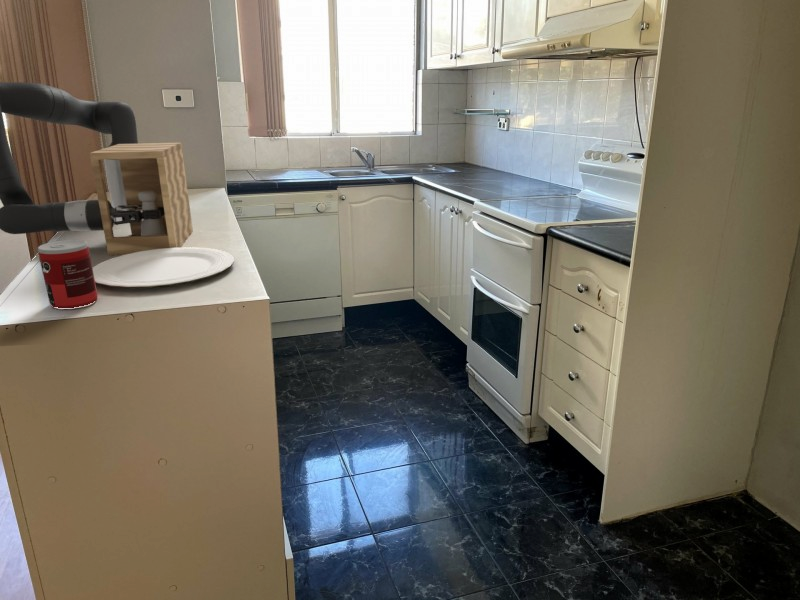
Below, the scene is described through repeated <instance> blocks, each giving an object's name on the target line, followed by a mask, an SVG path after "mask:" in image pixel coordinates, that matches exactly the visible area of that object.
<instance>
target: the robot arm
mask: <svg viewBox="0 0 800 600" xmlns="http://www.w3.org/2000/svg"><path fill="white" fill-rule="evenodd" d="M3 114H7V115H11V116H12V115H13V116H16V117H22V118H25V119H26V118H27V119H31V120H35V121H40V122H44V123H50V124H57V125H65V126H66V125H67V126H70V125H71V126H78V127H82V128H86V129H88V130H92V131H94V132H98V133H100V134H105V135H111V142H110V144H109V145H108V146H106V147H105V148H107V147H111V146H114V145H117V144H139V141H138V132H137V131H138V130H137V123H136V121H137V120H136V117H135V116H136V115H135V113H134V110H133V109H132V107H131V106H130V105H129V104H128V103H126V102H122V101H91V100H86V99H85V100H84V99H79V98H77V97H74V96H73V95H71V93H68V92H67V91H66V90H63V89H62V88H59V87H54V86H50V85H46V84H42V83H37V82H36V83H35V82H24V81H23V82H22V81H21V82H16V81H14V82H11V81H10V82H7V81H4V82H1V81H0V202H1V204H2V205H3V206H2V207H0V230H1V232H2V231H3V232H5V233H6V234H11V235H23V234H24V235H25V234H32V233H41V232H66V231H67V232H70V231H71V232H72V231H73V232H75V231H76V232H92V231H94V232H98V231H104V229H103V223H102V218H101V212H100V207H99V201H98V199H81V200H73V201H58V202H57V201H56V202H48V203H42V204H35V202H34V200H32V197H31V195H30V194H29V193H28V191H27V190H26V187H25V186H24V185H23V182H22V180H21V177H20V174H19V170H18V169H17V165H16V163H15V160H14V157H13V154H12V151H11V148H10V145H9V142H8V137H7V131H6V128H5V126H6V125H5V121H4V115H3ZM103 160H104V167H105V171H106V177H107V182H108V188H109V194H110V200H111V201H110V200H108V206H109V211H110V217H111V223H112V228H114V226H115V225H116V226H119V225H127V224H130V223H135V222H141V220H142V221H144V220H145V218H146V219H149V218H150V219H160V218H161V217H162V216H164V215H165V212H164V207H158V209H157V210H141V209H142V205H130V204H128V205H127V204H126V198H125V192H124V186H123V180H122V174H121V168H120V162H119V159H103ZM144 211H145V212H144Z"/></svg>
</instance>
